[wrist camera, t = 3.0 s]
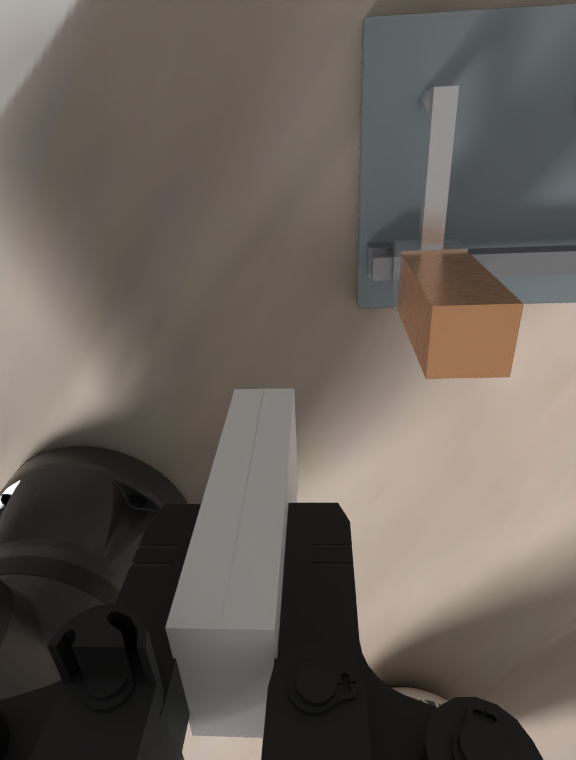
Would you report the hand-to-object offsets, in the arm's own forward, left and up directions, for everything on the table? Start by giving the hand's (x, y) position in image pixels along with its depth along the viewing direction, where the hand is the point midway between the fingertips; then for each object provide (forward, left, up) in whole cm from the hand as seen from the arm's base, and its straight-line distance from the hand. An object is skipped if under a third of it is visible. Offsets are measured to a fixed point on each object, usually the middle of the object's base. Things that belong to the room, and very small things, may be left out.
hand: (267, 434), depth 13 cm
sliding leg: (+7, +3, -17) cm, 18 cm away
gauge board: (+19, +4, -19) cm, 27 cm away
